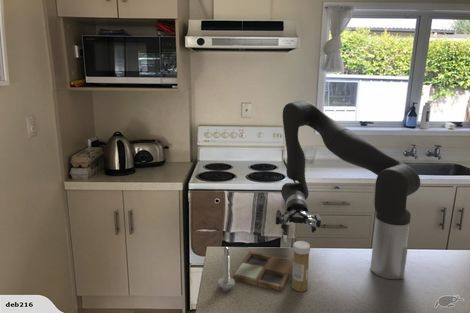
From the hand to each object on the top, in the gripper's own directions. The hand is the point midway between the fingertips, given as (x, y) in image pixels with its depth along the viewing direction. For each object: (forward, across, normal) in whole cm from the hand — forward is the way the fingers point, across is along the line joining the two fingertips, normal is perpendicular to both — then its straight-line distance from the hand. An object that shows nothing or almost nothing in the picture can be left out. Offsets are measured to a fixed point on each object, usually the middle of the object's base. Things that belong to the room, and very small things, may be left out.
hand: (298, 228), depth 104 cm
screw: (+14, -20, +13) cm, 28 cm away
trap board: (+4, -10, +13) cm, 17 cm away
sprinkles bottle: (+10, 0, +13) cm, 17 cm away
